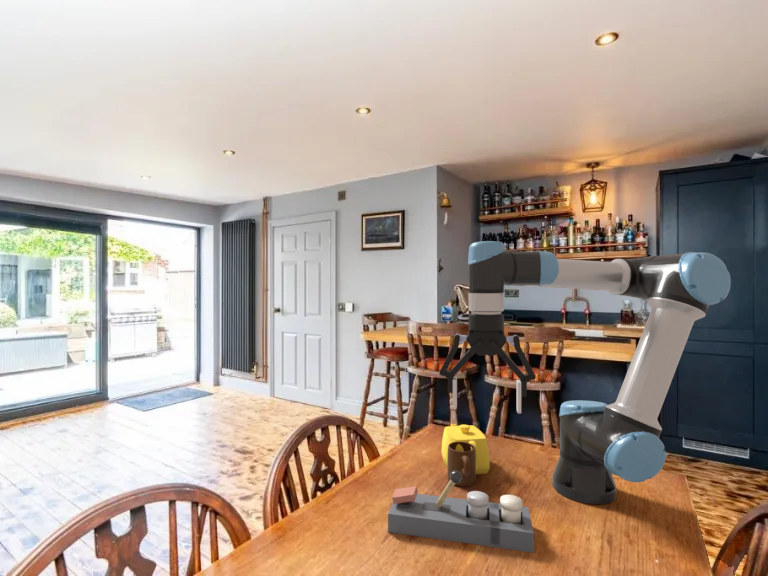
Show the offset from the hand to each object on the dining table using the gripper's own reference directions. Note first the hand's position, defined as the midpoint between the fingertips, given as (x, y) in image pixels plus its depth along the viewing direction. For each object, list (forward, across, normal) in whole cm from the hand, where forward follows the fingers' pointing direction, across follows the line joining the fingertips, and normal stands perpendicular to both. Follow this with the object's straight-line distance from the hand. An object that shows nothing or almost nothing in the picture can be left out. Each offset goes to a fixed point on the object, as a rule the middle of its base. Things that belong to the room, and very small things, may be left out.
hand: (486, 409), depth 90 cm
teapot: (+27, +6, -33) cm, 43 cm away
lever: (+22, +11, +1) cm, 25 cm away
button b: (+24, +2, +1) cm, 24 cm away
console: (+26, +6, +1) cm, 27 cm away
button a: (+24, -5, +1) cm, 24 cm away
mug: (+27, +6, -20) cm, 34 cm away
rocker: (+21, +18, +1) cm, 28 cm away
